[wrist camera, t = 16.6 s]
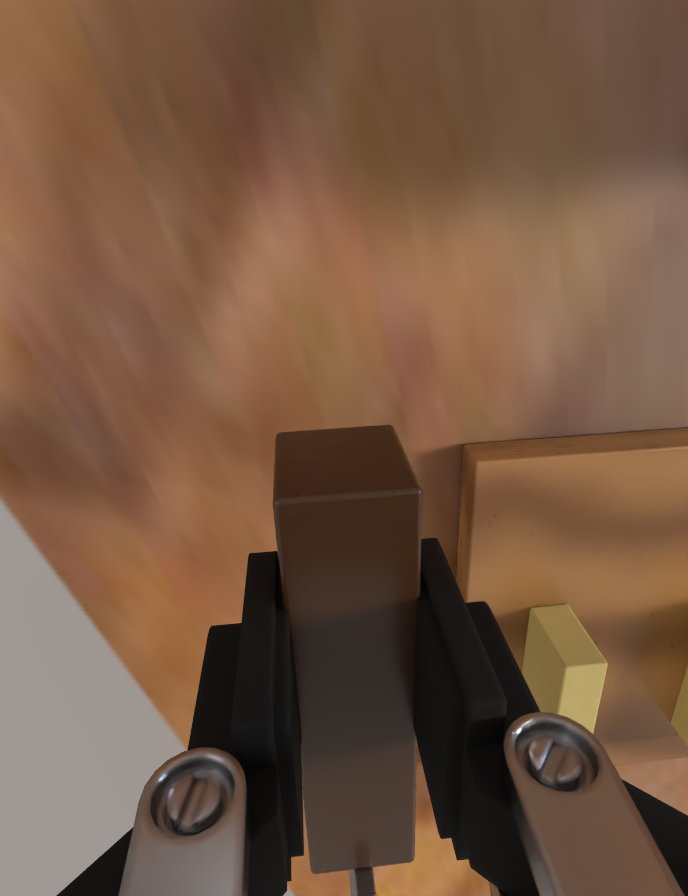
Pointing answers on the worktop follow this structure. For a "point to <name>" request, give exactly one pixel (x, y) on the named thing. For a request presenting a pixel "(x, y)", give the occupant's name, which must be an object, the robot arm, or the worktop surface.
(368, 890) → the knife
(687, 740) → the butter block
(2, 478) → the worktop surface
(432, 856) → the worktop surface
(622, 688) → the cutting board
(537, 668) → the butter pat
